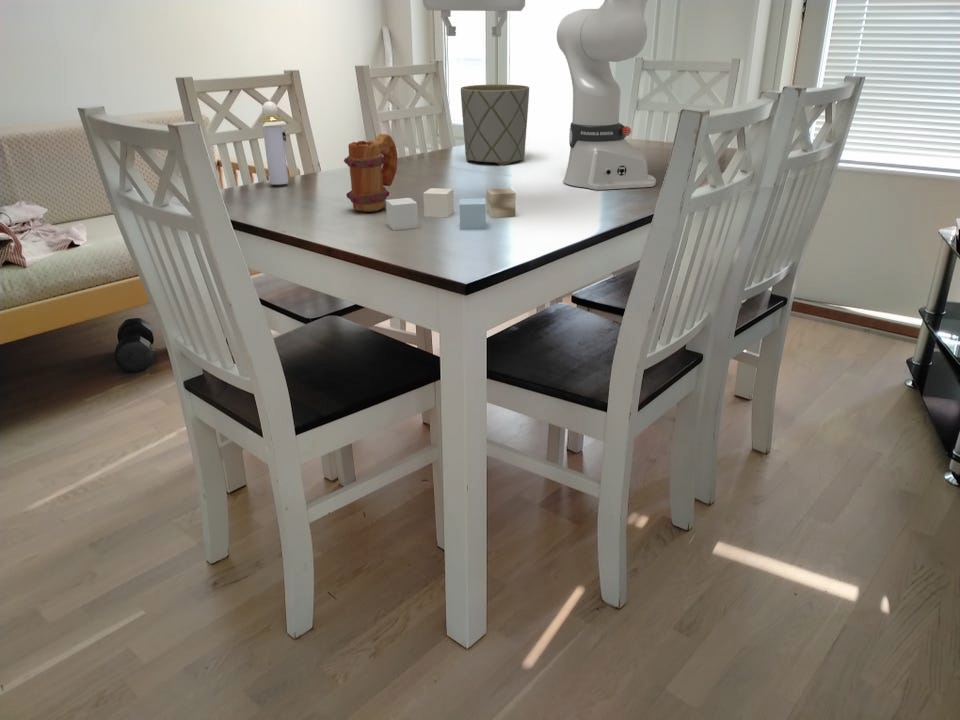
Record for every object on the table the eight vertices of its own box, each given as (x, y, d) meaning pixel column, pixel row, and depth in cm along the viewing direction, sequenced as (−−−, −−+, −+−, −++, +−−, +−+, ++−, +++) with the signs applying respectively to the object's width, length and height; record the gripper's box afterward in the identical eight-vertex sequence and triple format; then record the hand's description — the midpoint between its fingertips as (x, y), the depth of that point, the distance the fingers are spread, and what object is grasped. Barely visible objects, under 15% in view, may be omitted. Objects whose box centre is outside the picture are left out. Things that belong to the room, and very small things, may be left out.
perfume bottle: (276, 189, 179) (265, 103, 171) (263, 185, 183) (251, 101, 174) (296, 185, 183) (286, 101, 175) (283, 182, 187) (272, 99, 178)
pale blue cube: (485, 223, 148) (484, 198, 146) (485, 229, 143) (485, 204, 141) (460, 223, 148) (459, 198, 146) (460, 230, 143) (459, 204, 141)
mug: (369, 216, 153) (363, 142, 147) (340, 212, 157) (333, 140, 151) (411, 202, 164) (408, 133, 158) (383, 198, 168) (378, 131, 162)
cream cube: (453, 212, 156) (453, 189, 154) (447, 218, 152) (446, 194, 150) (431, 211, 157) (430, 188, 155) (424, 217, 153) (423, 193, 151)
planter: (539, 158, 214) (541, 85, 206) (506, 169, 200) (507, 91, 191) (484, 153, 223) (484, 83, 215) (449, 162, 209) (447, 88, 200)
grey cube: (411, 222, 149) (410, 197, 147) (418, 228, 145) (417, 202, 143) (387, 224, 148) (385, 199, 145) (393, 230, 143) (392, 205, 141)
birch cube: (509, 211, 156) (510, 188, 154) (515, 217, 152) (515, 193, 150) (487, 212, 155) (486, 189, 153) (491, 218, 151) (491, 194, 149)
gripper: (530, -42, 141) (527, 36, 147) (430, -41, 146) (431, 35, 152) (523, -45, 135) (521, 37, 141) (419, -44, 140) (420, 35, 146)
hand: (473, 36), depth 146 cm, fingers open, 8 cm apart
